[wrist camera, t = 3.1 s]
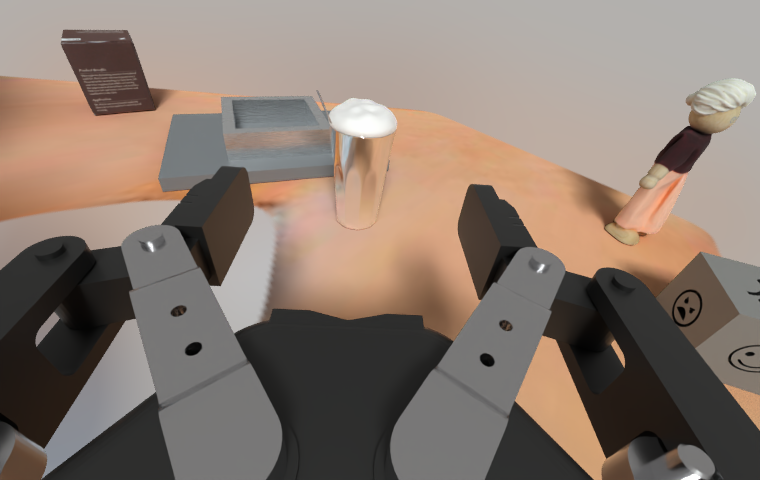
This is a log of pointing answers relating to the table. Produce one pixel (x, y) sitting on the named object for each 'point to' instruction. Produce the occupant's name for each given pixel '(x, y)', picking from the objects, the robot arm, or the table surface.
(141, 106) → the box
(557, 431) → the table surface
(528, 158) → the table surface
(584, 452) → the table surface
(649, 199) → the grandmother figurine
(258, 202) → the table surface
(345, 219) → the milkshake
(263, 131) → the dock
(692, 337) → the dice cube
